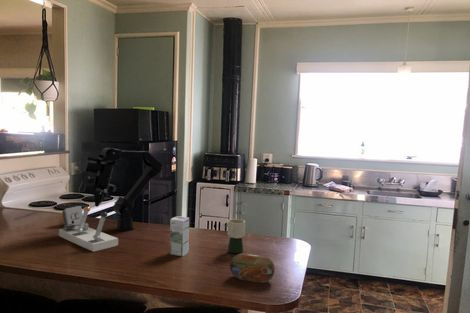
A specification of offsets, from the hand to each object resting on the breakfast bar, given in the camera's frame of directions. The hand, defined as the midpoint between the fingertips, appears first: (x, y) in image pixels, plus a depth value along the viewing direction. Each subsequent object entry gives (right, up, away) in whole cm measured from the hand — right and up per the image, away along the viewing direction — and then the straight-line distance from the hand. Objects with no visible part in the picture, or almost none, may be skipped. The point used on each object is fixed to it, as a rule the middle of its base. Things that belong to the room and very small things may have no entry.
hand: (96, 206), depth 164 cm
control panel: (+1, -13, -11) cm, 17 cm away
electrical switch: (-17, -12, +13) cm, 24 cm away
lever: (+8, -10, -21) cm, 25 cm away
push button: (-3, -9, -5) cm, 11 cm away
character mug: (+65, -16, -21) cm, 70 cm away
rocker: (-10, -8, -6) cm, 14 cm away
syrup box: (+43, -16, -24) cm, 52 cm away
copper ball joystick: (-2, -9, -12) cm, 15 cm away
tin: (+70, -18, -47) cm, 87 cm away
